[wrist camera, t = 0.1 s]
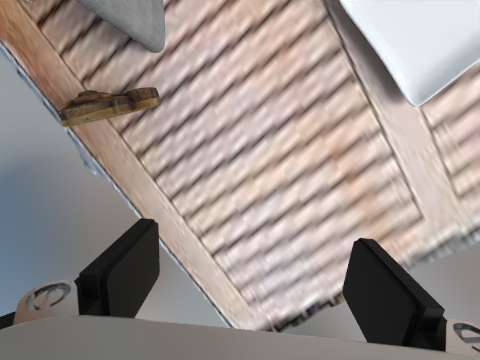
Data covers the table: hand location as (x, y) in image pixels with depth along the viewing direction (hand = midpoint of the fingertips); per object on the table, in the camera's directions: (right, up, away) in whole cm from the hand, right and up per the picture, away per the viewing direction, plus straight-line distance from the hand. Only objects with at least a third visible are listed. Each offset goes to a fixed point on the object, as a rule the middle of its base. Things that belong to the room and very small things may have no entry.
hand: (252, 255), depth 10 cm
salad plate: (+28, +30, +23) cm, 47 cm away
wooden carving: (-21, +17, +29) cm, 40 cm away
